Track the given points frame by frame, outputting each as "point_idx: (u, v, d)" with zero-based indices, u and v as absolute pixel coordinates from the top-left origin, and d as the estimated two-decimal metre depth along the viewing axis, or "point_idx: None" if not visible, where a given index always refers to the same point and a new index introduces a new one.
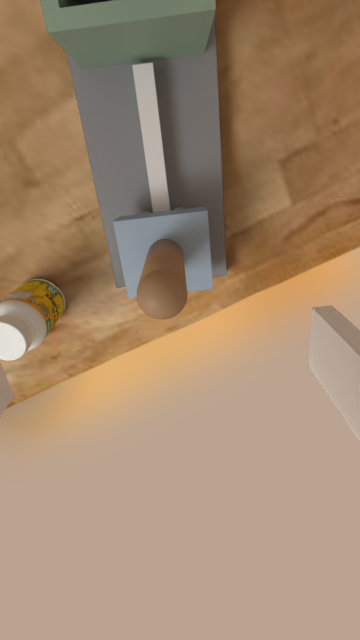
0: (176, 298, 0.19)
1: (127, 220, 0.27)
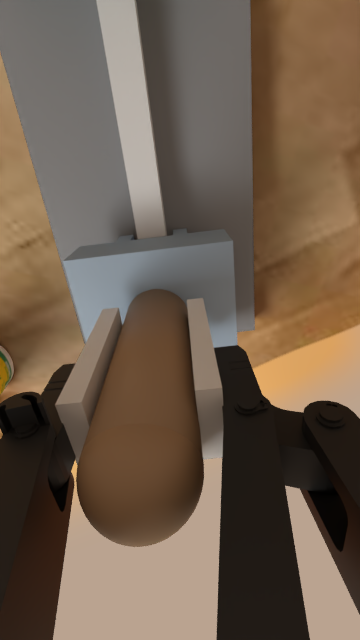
0: (177, 513, 0.07)
1: (89, 258, 0.15)
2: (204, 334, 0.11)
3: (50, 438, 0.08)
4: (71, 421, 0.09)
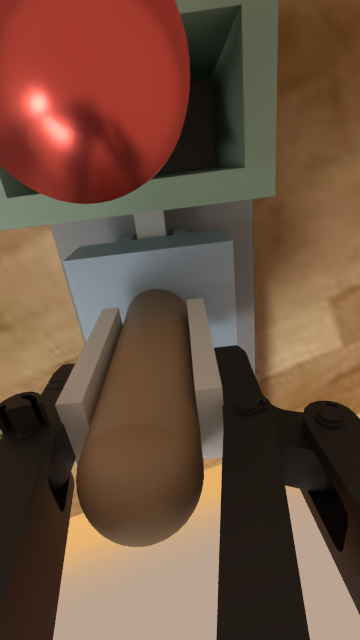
0: (176, 513, 0.07)
1: (88, 258, 0.15)
2: (204, 334, 0.11)
3: (50, 438, 0.08)
4: (71, 421, 0.09)
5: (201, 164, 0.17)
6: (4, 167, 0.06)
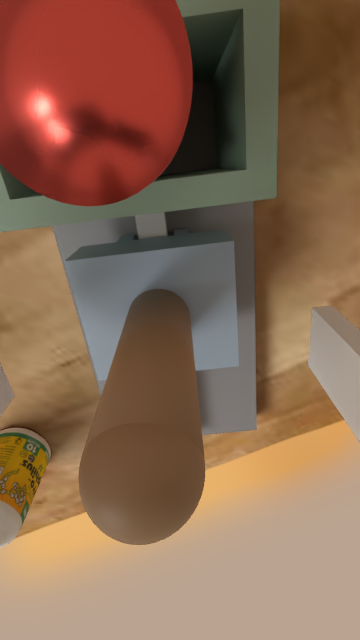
0: (178, 511, 0.07)
1: (90, 258, 0.15)
2: None
3: None
4: None
5: (202, 165, 0.17)
6: (8, 170, 0.07)
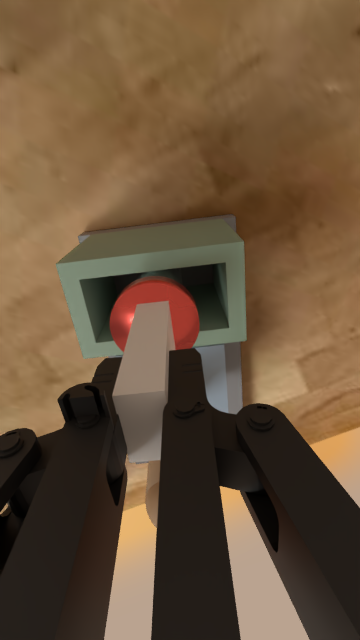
0: None
1: None
2: (160, 337, 0.12)
3: (109, 431, 0.08)
4: (126, 412, 0.09)
5: (203, 281, 0.26)
6: None
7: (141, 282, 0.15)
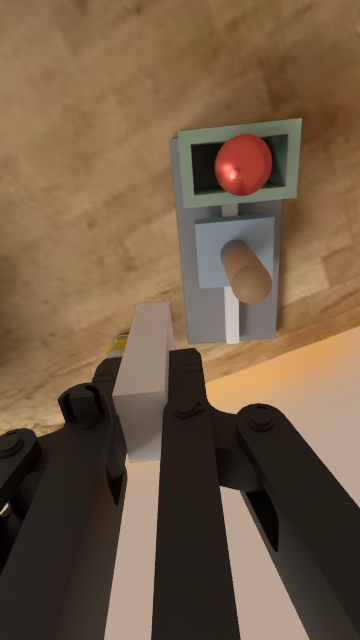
0: (266, 287, 0.24)
1: (207, 223, 0.32)
2: (160, 337, 0.12)
3: (109, 431, 0.08)
4: (126, 412, 0.09)
5: None
6: (221, 186, 0.26)
7: (238, 135, 0.24)
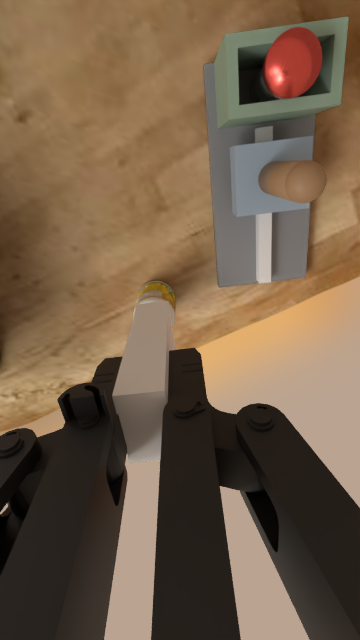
0: (323, 179, 0.24)
1: (246, 145, 0.32)
2: (160, 337, 0.12)
3: (109, 431, 0.08)
4: (126, 412, 0.09)
5: None
6: (271, 86, 0.26)
7: (289, 30, 0.24)
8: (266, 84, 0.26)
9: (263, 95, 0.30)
